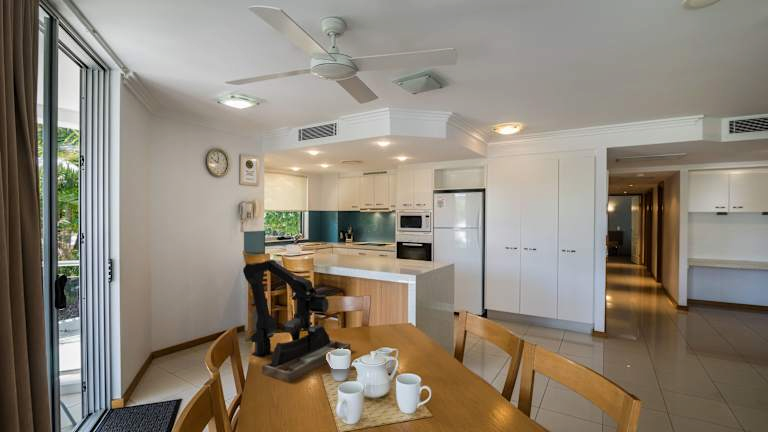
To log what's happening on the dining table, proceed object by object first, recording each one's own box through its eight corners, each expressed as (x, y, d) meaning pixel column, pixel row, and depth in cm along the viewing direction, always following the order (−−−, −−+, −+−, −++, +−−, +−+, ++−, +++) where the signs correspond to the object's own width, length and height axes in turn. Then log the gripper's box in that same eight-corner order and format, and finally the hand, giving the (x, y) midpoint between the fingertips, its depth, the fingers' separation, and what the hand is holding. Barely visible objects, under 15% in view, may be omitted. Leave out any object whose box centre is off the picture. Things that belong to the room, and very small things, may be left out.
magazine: (270, 351, 134) (324, 311, 158) (264, 350, 136) (318, 310, 160) (280, 390, 138) (331, 346, 162) (275, 388, 140) (326, 344, 164)
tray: (262, 373, 136) (262, 365, 136) (326, 344, 167) (326, 338, 167) (288, 382, 128) (288, 374, 128) (350, 350, 159) (350, 344, 159)
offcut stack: (286, 374, 136) (286, 364, 136) (330, 352, 159) (330, 344, 159) (296, 377, 134) (296, 368, 134) (340, 355, 156) (340, 346, 156)
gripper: (272, 311, 148) (272, 350, 148) (306, 318, 138) (305, 359, 138) (292, 306, 157) (292, 342, 157) (325, 312, 147) (325, 350, 147)
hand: (303, 348), depth 150 cm, fingers open, 7 cm apart
